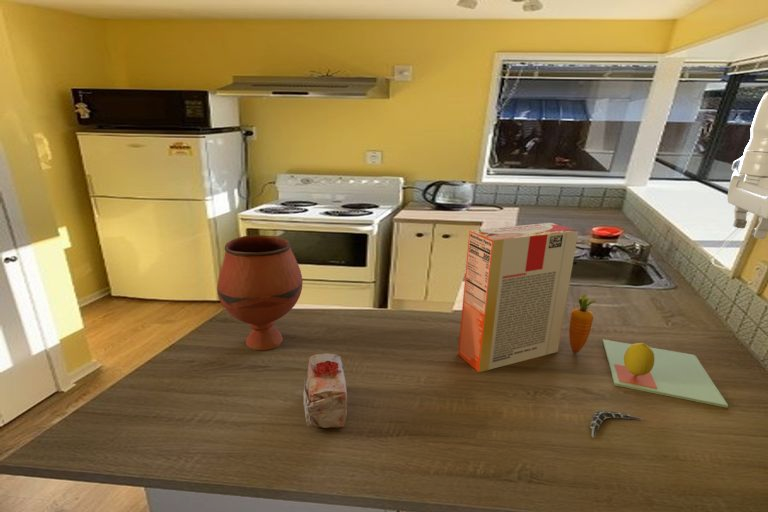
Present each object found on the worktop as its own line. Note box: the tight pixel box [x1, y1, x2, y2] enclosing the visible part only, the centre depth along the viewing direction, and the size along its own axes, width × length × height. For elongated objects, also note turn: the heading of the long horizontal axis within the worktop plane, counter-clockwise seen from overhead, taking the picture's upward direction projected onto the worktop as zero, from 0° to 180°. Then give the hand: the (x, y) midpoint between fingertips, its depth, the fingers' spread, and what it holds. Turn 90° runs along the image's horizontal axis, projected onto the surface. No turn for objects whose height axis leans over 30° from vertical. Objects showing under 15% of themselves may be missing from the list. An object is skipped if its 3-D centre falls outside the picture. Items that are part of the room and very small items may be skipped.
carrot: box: [568, 293, 597, 354], centre depth 99 cm, size 5×5×15 cm
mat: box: [601, 338, 729, 409], centre depth 95 cm, size 20×20×1 cm
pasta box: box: [457, 222, 579, 373], centre depth 96 cm, size 23×8×30 cm, turn 114°
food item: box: [302, 352, 348, 429], centre depth 78 cm, size 14×8×10 cm, turn 11°
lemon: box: [624, 342, 654, 376], centre depth 90 cm, size 6×6×8 cm
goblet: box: [216, 234, 304, 351], centre depth 99 cm, size 19×19×25 cm
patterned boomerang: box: [589, 410, 644, 439], centre depth 78 cm, size 13×1×5 cm
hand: (747, 232), depth 90 cm, fingers open, 8 cm apart
